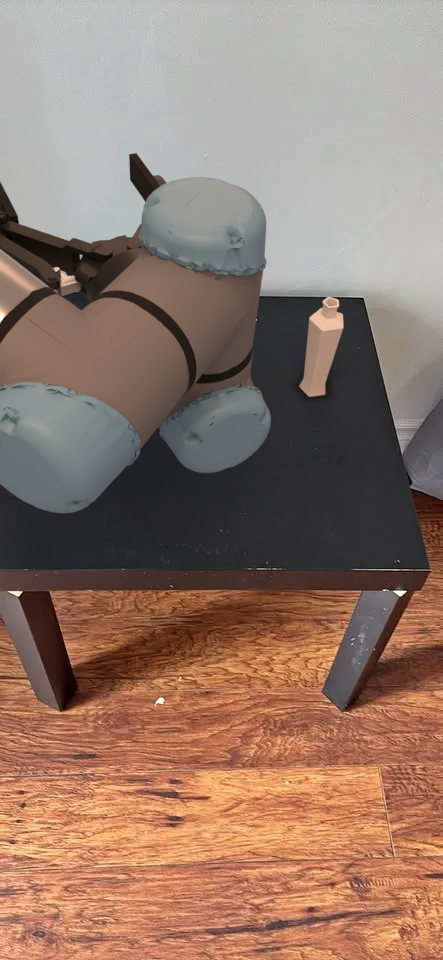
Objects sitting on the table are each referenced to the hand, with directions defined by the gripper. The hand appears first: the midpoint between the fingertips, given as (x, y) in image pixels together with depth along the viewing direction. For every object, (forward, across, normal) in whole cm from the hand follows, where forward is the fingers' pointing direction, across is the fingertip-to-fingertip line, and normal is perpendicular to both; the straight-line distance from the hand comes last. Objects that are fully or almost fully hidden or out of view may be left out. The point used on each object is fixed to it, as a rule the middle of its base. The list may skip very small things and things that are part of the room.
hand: (66, 178), depth 72 cm
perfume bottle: (-5, +31, -35) cm, 47 cm away
